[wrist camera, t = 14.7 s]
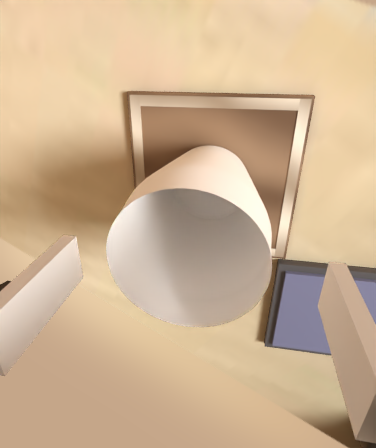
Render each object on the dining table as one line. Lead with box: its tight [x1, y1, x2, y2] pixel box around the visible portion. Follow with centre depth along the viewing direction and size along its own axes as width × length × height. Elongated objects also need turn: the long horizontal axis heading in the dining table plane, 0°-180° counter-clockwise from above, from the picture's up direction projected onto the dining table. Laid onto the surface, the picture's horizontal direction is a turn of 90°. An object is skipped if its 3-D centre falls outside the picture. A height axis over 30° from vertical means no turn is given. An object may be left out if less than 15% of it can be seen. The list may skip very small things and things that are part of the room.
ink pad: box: [264, 259, 376, 355], centre depth 31 cm, size 11×11×1 cm
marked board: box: [127, 91, 315, 259], centre depth 27 cm, size 14×14×1 cm
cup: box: [106, 145, 272, 327], centre depth 21 cm, size 9×9×12 cm
